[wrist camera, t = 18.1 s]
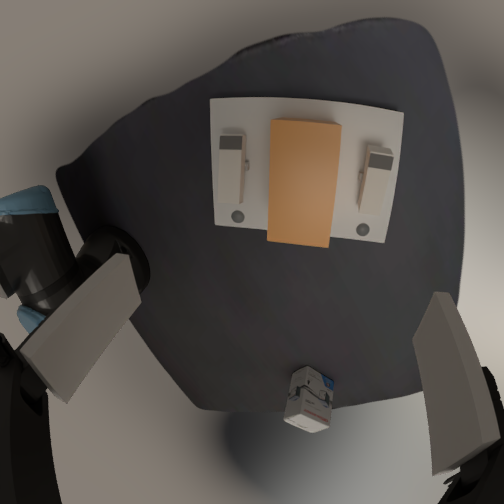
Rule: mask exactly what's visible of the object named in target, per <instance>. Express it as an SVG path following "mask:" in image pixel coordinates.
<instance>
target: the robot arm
mask: <svg viewBox="0 0 504 504" xmlns="http://www.w3.org/2000/svg"><path fill="white" fill-rule="evenodd" d="M58 212H59V210H58V209H57V208H56V206H55V203H54V200H53V198H52V195H51V192H50V190H49V189H48V188H47V187H45V186H43V185H38V186H34V187H31V188H28V189H25V190H22V191H19V192H16V193H13V194H11V195H8V196H5V197H3V198H0V297H2V298H6V299H7V298H9V297H10V296H11V295H13V294H14V293H16V294H17V295H18V297H19V299H20V301H21V303H22V305H20V306H19V308H18V310H17V316H18V318H19V321H20V322H21V324H22V325H23V327H24V328H25V329H26V331H27V332H28V333H29V335H28V336H27V338H26V339H25V340H24V341H23V342H22V343H21V345H20V346H19V347H18V348H17V349H16V350H13V348H12V347H11V345H10V344H9V342H8V341H7V339H6V338H5V336H4V334H2V333H0V504H62V502H61V498H60V494H59V489H58V484H57V480H56V474H55V468H54V462H53V456H52V448H51V439H50V427H49V410H48V395H47V392H46V389H47V388H48V389H49V390H50V391H51V392H52V393H53V394H54V396H56V397H57V398H59V399H60V400H62V401H63V402H65V403H66V404H67V403H68V401H69V400H70V398H71V397H72V396H73V394H74V393H75V391H76V389H77V388H78V387H79V385H80V384H81V382H82V381H83V380H84V378H85V377H86V375H87V374H88V372H89V371H90V370H91V368H92V367H93V366H94V364H95V363H96V361H97V360H98V358H99V357H100V356H101V354H102V353H103V352H104V350H105V349H106V348H107V346H108V345H109V344H110V342H111V341H112V339H113V338H114V337H115V335H116V334H117V333H118V332H119V330H120V329H121V328H122V326H123V325H124V324H125V323H126V321H127V320H128V319H129V317H130V316H131V315H132V314H133V312H134V311H135V310H136V308H137V307H138V306H139V305H140V303H141V299H140V296H139V295H140V294H141V293H142V291H143V290H144V289H145V288H146V287H147V285H148V283H149V279H150V270H149V265H148V262H147V259H146V257H145V255H144V253H143V251H142V250H141V248H140V247H139V245H138V244H137V243H136V242H135V241H134V240H133V239H132V238H131V237H130V236H129V235H128V234H127V233H125V232H124V231H122V230H120V229H118V228H115V227H111V226H104V227H101V228H99V229H97V230H96V231H94V232H93V233H92V234H90V235H89V236H88V238H87V239H86V241H85V243H84V245H83V246H82V248H81V250H80V251H79V253H78V254H77V256H76V258H75V256H74V254H73V251H72V249H71V246H70V244H69V241H68V239H67V236H66V233H65V231H64V228H63V225H62V223H61V220H60V217H59V214H58ZM412 341H413V345H414V349H415V353H416V358H417V362H418V367H419V371H420V376H421V381H422V387H423V392H424V398H425V404H426V410H427V418H428V425H429V434H430V444H431V456H432V457H431V458H432V476H435V475H440V474H444V473H449V472H451V471H453V470H455V469H456V468H458V467H459V466H460V472H459V473H457V474H455V475H453V476H452V477H450V478H448V479H447V480H446V481H445V482H444V483H443V484H447V483H449V482H451V481H452V483H451V484H450V485H448V487H449V488H448V489H447V491H446V492H445V494H444V495H443V497H442V498H441V500H440V501H439V503H438V504H504V408H503V405H502V401H500V398H501V397H500V394H499V391H497V389H498V388H497V385H496V382H495V379H494V376H493V375H492V374H491V372H490V371H489V369H488V368H487V367H481V365H480V362H479V359H478V357H477V354H476V352H475V349H474V346H473V344H472V341H471V339H470V337H469V334H468V332H467V330H466V327H465V325H464V323H463V321H462V318H461V316H460V314H459V312H458V310H457V308H456V306H455V304H454V302H453V300H452V298H451V296H450V294H449V293H445V292H434V294H433V296H432V299H431V301H430V303H429V306H428V308H427V310H426V312H425V314H424V316H423V319H422V321H421V323H420V325H419V327H418V329H417V331H416V333H415V335H414V337H413V339H412Z"/></svg>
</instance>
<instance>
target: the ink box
mask: <svg viewBox="0 0 504 504" xmlns="http://www.w3.org/2000/svg"><path fill="white" fill-rule="evenodd" d="M333 385H334V381H332V380H330V379H329V378H327V377H325V376H324V375H322V374H320V373H319V372H317V371H315V370H314V369H312V368H311V367H309V366H306V367H304V368H301V369H299V370H297V371H296V372H294V373H293V374H292V379H291V385H290V390H289V395H288V400H287V404H286V409H285V414H284V420H285V421H286V422H287V423H290V424H292V425H294V426H296V427H298V428H301V429H303V430H306V431H308V432H311V433H313V432H317V431H320V430H323V429H326V428H329V427H330V419H331V409H332V398H333Z"/></svg>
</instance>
